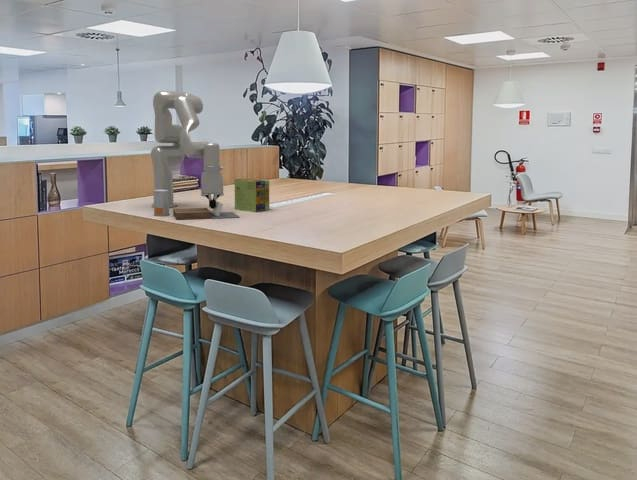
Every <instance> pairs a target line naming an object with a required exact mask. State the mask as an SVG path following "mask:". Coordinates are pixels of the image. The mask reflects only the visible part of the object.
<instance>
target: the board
mask: <svg viewBox="0 0 637 480" xmlns="http://www.w3.org/2000/svg"><path fill="white" fill-rule="evenodd" d="M172 216H173V217H174V218H175V220H176V221H181V220H182V221H184V220H186V221H187V220H208V219H212V210H210V209H208V208H207V207H196V208H193V207H192V208H189V207H188V208H172ZM212 220H213V219H212Z"/></svg>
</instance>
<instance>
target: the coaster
mask: <svg viewBox="0 0 637 480" xmlns="http://www.w3.org/2000/svg"><path fill="white" fill-rule="evenodd" d="M223 206H224V204H223V203H222V202H220V201H217V200H216V207H215V209H212V210H211V212H212V213H213V214H214V215H216V216H220V213H221V212H222V209H223Z"/></svg>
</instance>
